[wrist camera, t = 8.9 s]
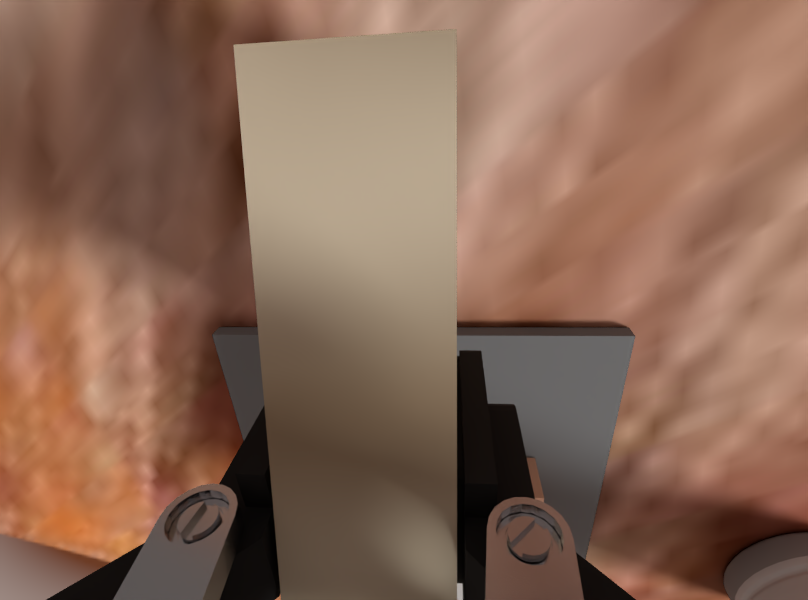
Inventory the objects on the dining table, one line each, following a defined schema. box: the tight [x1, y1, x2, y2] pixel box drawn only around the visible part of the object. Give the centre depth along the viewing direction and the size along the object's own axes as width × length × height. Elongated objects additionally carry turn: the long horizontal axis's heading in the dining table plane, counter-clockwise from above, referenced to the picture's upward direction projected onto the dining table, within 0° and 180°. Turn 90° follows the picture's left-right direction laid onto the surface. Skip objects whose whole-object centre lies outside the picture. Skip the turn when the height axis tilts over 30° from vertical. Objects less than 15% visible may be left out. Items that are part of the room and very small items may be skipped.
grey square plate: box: [212, 327, 635, 559], centre depth 20 cm, size 16×16×1 cm
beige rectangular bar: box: [233, 29, 463, 600], centre depth 10 cm, size 19×5×5 cm, turn 3°
